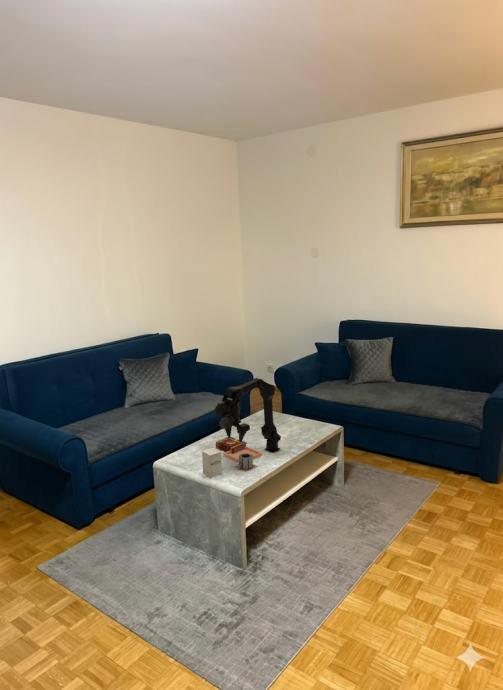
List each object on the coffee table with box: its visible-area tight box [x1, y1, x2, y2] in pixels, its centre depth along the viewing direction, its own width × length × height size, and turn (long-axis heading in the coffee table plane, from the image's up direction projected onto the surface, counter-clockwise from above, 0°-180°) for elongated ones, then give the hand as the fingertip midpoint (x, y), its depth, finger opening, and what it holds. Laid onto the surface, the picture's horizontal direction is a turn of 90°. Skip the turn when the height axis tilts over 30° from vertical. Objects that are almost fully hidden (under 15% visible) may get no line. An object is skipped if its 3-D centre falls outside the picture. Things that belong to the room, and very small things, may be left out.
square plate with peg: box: [234, 463, 258, 473], centre depth 262 cm, size 9×9×4 cm
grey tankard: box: [236, 453, 254, 471], centre depth 261 cm, size 9×7×6 cm
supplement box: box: [201, 447, 223, 479], centre depth 255 cm, size 7×7×13 cm
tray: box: [222, 445, 263, 464], centre depth 276 cm, size 15×15×2 cm
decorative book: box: [215, 436, 248, 454], centre depth 287 cm, size 11×16×5 cm
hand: (234, 439), depth 262 cm, fingers open, 9 cm apart
